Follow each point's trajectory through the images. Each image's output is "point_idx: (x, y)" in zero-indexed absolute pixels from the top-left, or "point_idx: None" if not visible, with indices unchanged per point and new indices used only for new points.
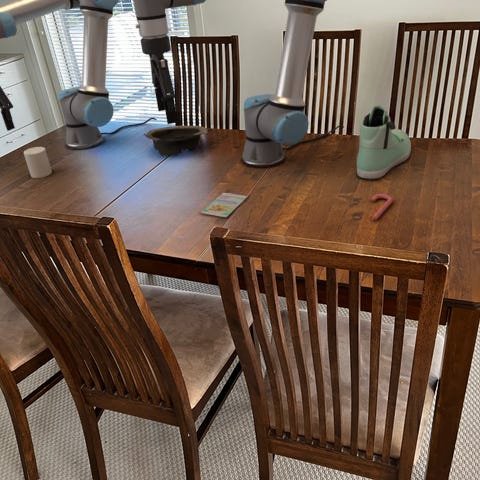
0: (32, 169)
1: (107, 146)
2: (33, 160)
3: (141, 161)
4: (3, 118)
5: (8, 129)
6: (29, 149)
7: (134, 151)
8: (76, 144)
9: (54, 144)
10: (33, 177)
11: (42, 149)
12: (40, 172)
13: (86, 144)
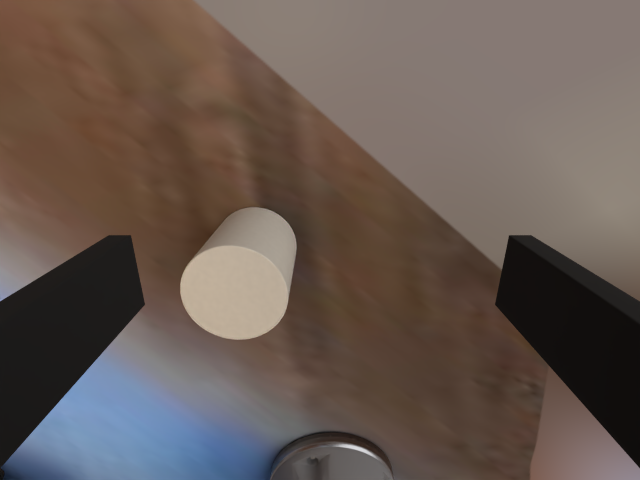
0: (238, 219)
1: (234, 473)
2: (209, 241)
3: None
4: (27, 298)
5: (100, 242)
6: (273, 298)
7: (112, 466)
8: (311, 451)
9: (438, 445)
10: (253, 207)
11: (204, 316)
12: (217, 228)
13: (282, 461)
